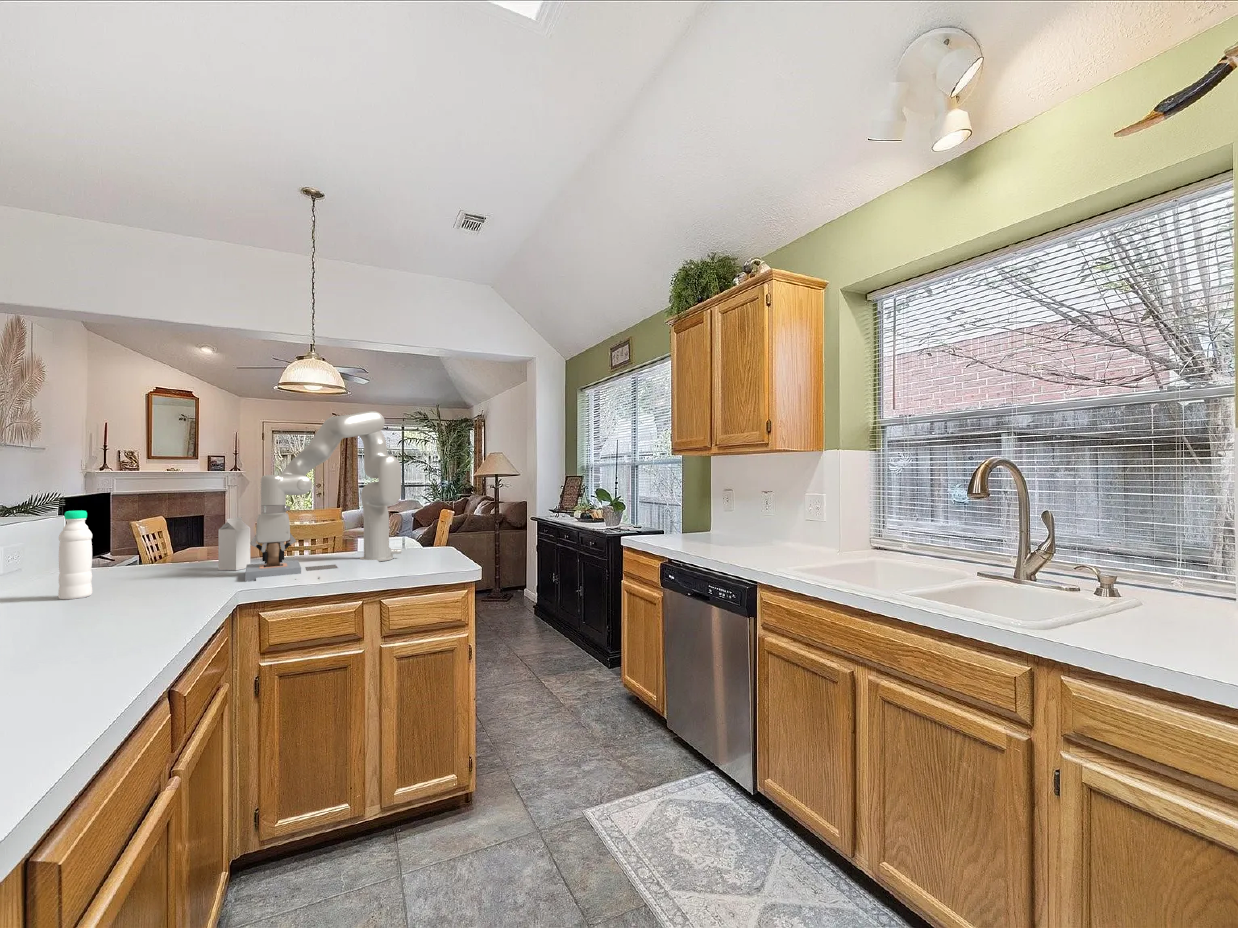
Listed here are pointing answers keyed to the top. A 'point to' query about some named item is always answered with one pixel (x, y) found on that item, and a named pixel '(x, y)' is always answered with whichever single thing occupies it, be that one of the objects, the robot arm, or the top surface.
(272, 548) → the peg
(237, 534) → the milk carton
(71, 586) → the milk bottle
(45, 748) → the top surface
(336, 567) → the tongue
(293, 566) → the hole plate
